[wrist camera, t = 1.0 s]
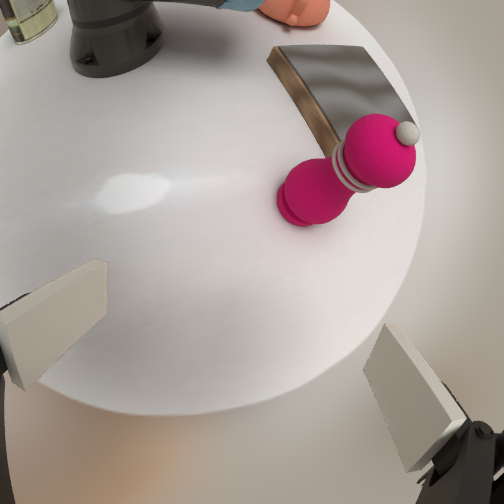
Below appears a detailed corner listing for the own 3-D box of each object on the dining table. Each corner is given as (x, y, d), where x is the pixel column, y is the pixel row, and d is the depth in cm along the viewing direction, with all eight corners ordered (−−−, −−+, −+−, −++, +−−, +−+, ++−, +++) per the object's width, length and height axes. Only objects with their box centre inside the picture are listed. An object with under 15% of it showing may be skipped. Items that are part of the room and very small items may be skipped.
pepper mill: (276, 168, 34) (370, 69, 15) (326, 183, 35) (439, 112, 16) (268, 223, 33) (379, 153, 13) (322, 236, 34) (452, 192, 15)
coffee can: (7, 51, 24) (-14, 7, 10) (26, 21, 25) (12, -21, 11) (47, 36, 26) (31, -15, 13) (65, 8, 27) (55, -39, 14)
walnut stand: (266, 60, 36) (274, 44, 32) (352, 56, 41) (363, 45, 37) (330, 166, 36) (345, 154, 32) (407, 141, 41) (422, 132, 38)
